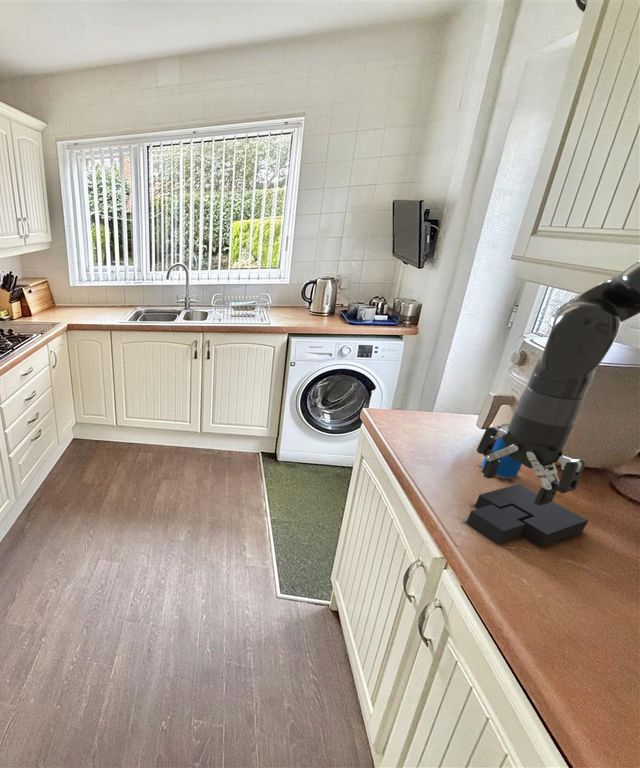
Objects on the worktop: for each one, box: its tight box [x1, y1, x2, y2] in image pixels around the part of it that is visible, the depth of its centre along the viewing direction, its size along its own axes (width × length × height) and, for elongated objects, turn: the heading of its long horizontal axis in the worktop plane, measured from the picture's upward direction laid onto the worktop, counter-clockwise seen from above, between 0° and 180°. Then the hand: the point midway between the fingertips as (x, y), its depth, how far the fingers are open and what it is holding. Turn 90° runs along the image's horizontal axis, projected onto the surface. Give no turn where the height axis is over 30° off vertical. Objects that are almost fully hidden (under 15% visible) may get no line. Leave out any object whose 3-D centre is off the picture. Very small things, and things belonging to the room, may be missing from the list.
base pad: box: [474, 483, 589, 548], centre depth 83 cm, size 12×12×3 cm
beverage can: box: [481, 423, 523, 479], centre depth 95 cm, size 6×6×12 cm
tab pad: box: [465, 505, 529, 545], centre depth 81 cm, size 9×6×3 cm, turn 107°
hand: (512, 489), depth 77 cm, fingers open, 8 cm apart
